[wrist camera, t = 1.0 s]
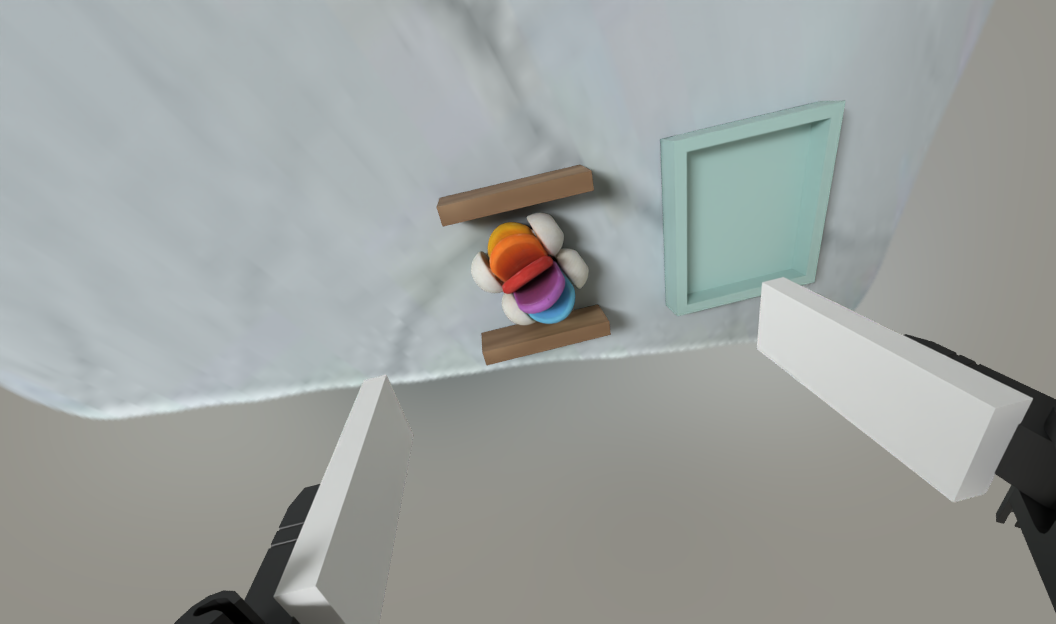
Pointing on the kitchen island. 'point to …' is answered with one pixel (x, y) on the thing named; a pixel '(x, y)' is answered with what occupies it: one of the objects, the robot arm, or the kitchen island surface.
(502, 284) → the rainbow disc toy
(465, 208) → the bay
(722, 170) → the tray
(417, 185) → the kitchen island surface
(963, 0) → the kitchen island surface
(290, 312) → the kitchen island surface
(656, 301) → the kitchen island surface
